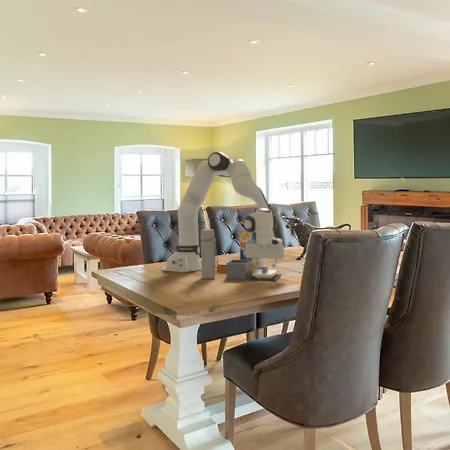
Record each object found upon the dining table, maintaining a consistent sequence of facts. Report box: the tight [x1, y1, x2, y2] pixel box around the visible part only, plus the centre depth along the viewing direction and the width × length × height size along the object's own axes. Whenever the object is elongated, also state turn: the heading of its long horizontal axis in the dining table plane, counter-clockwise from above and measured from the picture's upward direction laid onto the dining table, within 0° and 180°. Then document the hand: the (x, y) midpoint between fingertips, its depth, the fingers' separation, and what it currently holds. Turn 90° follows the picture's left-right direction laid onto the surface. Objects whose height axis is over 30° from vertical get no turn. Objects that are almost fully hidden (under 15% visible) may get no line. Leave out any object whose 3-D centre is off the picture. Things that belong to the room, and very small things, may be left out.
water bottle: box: [200, 228, 219, 280], centre depth 243 cm, size 9×8×25 cm
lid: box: [251, 264, 278, 279], centre depth 241 cm, size 11×13×5 cm
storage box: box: [225, 259, 252, 280], centre depth 245 cm, size 10×12×8 cm
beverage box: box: [239, 230, 264, 273], centre depth 261 cm, size 7×11×22 cm, turn 64°
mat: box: [247, 273, 282, 282], centre depth 241 cm, size 14×16×1 cm
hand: (265, 267), depth 241 cm, fingers open, 8 cm apart
